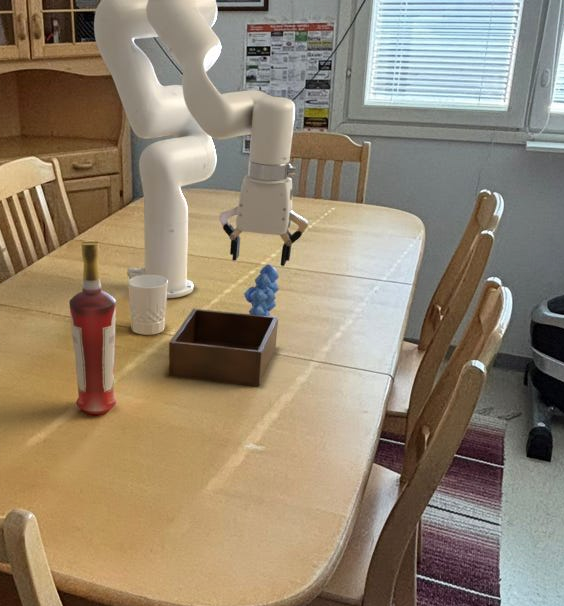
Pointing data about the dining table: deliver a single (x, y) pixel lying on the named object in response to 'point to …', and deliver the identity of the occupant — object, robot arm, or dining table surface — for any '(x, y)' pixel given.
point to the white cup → (147, 303)
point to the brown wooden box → (223, 347)
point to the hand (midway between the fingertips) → (259, 261)
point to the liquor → (93, 337)
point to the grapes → (263, 292)
